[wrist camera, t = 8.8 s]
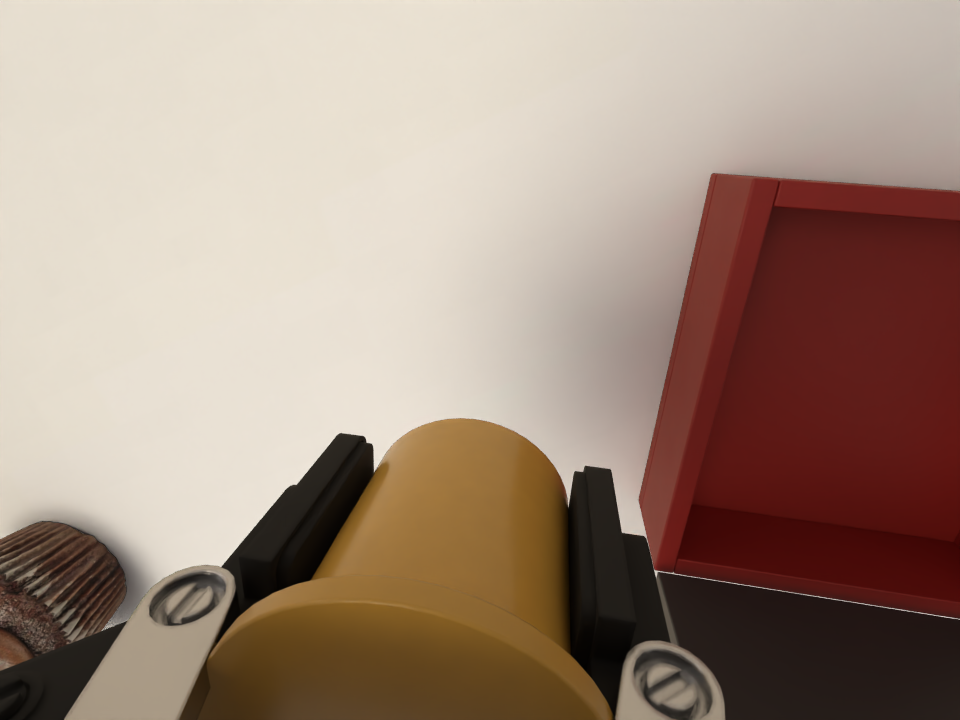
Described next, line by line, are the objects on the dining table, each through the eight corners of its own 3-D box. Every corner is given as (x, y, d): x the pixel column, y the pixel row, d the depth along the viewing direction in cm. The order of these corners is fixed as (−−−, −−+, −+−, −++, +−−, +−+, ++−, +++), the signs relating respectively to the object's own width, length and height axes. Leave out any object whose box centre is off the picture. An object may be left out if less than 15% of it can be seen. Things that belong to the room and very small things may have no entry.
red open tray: (710, 173, 20) (753, 177, 16) (1133, 203, 18) (1315, 218, 14) (638, 500, 26) (653, 570, 21) (952, 545, 24) (1040, 632, 20)
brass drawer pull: (578, 375, 10) (597, 590, 5) (610, 595, 12) (646, 912, 7) (318, 407, 11) (123, 608, 6) (385, 603, 13) (276, 879, 8)
